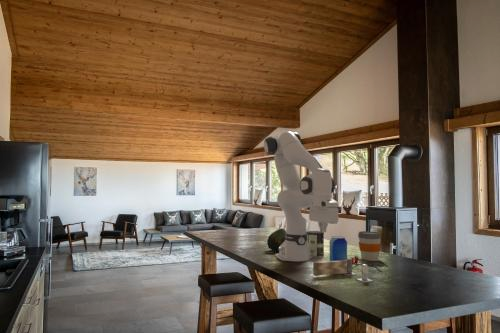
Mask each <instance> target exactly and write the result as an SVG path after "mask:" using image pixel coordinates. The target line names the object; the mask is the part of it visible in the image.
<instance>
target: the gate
mask: <svg viewBox="0 0 500 333" xmlns="http://www.w3.org/2000/svg"><path fill="white" fill-rule="evenodd" d="M312 263H313V264H312V267H313V268H312V269H313V270H312V271H313V272H312V275H313V276H315V277H318V276H327V275H328V276H329V275H337V274H341V273H348V274H351V273H352V272H353V265H352V258H347V259H346V260H340V261H330V260H329V261H328V260H327V261H313V262H312Z"/></svg>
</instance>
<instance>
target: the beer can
mask: <svg viewBox="0 0 500 333" xmlns="http://www.w3.org/2000/svg"><path fill="white" fill-rule="evenodd" d="M347 241H348V240H346V236H341V235H335V236H333V235H332V236H331V237H330V239H329V261H340V260H346V259H348V242H347Z"/></svg>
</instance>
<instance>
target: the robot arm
mask: <svg viewBox="0 0 500 333" xmlns="http://www.w3.org/2000/svg"><path fill="white" fill-rule="evenodd" d="M263 148H264V152H265V153H266V154H267V155H269V156H274V165H275V169H276V172H277V176H278V179H279V181H280V183H281V185H282V186H284V187H285V188H286V189H285V190H282V191H280V192H279V193H278V194H277V196H276V202H277V205H278V206H279V207H280V208H281V209H282V211H283V213H284V216H285V222H286V224H285V225H286V234H285V235H286V236H285V241H284V242H283V243H282V244H281V245H280V247H279V252H277V253H275V255H274V256H275V257H276V258H278V259H279V260H280V261H287V262H307V261H309V260H311V259H313V258H312V257H311V256H310V252H309V244H308V243H307V234H306V232H307V219H306V218H305V217H304V216H303V214H302V212H301V210H303V209H308V208H309V211H308V218H309V219H308V220H309V221H311V222H315V223H316V222H317V225H318V228H319V231H320V232H324V233H327V228H328V225H329V224H333V225H334V224H335V225H336V224H338V223H339V208H338V207H339V202H338V201H337V200H335V199H334V198H333V193H334V191H336V182H335V180H334V177H332V173H331V170H330V169H328V168H323V166H322V165H321V164H320V162H319V161H318V160H317V159H316V157H315V156H314V155H312V154H311V153H310V152H309V151H308V150H307V149H306V148H305V147H304V146H303V144H302V138H301V135H300V133H298V132H295V131H293V132H292V131H284V132H282V133H280V134H276V135H273V136H268V137H266V138H264V140H263ZM296 166H299V167H303V168H306V169H307V170H309V171H310V174H307V175H305V176H303V177H302V178H301V177H300V174H299V173H298V170H297V167H296Z"/></svg>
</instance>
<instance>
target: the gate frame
mask: <svg viewBox="0 0 500 333" xmlns="http://www.w3.org/2000/svg"><path fill="white" fill-rule="evenodd" d="M361 265H362V266H361V277H360V278H356V279H355V280H356V281H358V282H361V283H363V284H364V283H365V284H366V283H372V282H374V280H373V279H371V278H368V266H367V265H368V264H367V263H361ZM340 274H342V275H344V276H346V277H348V276H349V277H351V275H352V276H358V274H357V273H355V272H353V271H352V273H351V274H348V273H340Z"/></svg>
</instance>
